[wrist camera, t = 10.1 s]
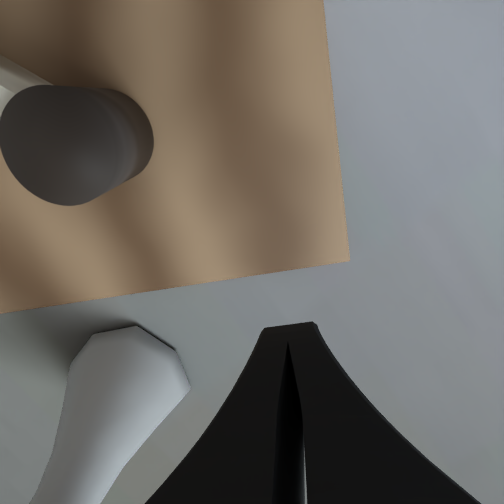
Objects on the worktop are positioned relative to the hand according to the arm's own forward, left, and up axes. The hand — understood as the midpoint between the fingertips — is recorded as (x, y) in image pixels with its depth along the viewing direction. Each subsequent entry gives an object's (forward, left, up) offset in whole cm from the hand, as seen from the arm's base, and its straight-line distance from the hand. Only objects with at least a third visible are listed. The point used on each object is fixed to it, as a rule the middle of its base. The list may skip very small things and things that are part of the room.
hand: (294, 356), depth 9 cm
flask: (+11, +8, -11) cm, 17 cm away
